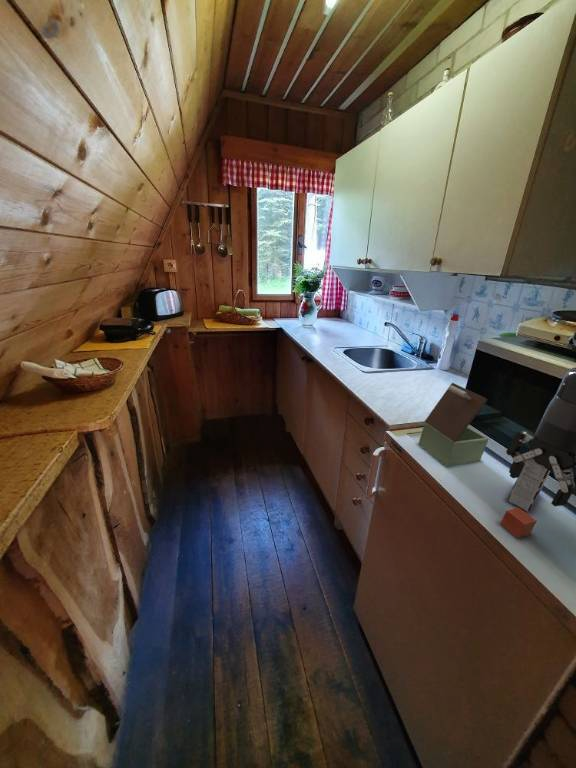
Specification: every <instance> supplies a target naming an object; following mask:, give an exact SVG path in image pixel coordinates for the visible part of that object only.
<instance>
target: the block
mask: <svg viewBox="0 0 576 768" xmlns="http://www.w3.org/2000/svg"><path fill="white" fill-rule="evenodd" d="M537 522H538V521H537V519H535V518H534V517H533V516H531V515H530V514H529V513H528V512H527V511H525V510H523V509H522V508H520V507H518V506H517V507H515V508H511V509H507V510H506V511H505V513H504V515H503V516H502V520H501V522H500V525H501V526H502V527H503V528H504V529H506V530H507V531H508V532H509V533H511V535H513V536H514V537H515V538H516V539H520V538H523V537H527V536H529V535H531V533H532V531H533V529H534V527H535V526H536V524H537Z"/></svg>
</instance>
